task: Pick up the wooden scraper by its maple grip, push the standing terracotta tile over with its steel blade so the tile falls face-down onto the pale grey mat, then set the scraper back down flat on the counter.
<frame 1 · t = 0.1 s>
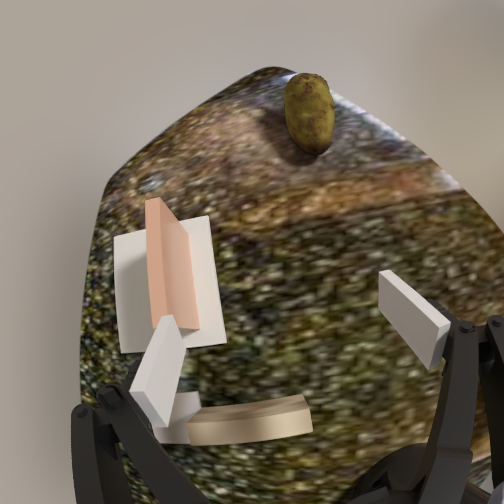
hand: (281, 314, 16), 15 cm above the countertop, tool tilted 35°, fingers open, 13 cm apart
scraper: (252, 412, 28), on the countertop
potato: (306, 128, 39), on the countertop
mat: (163, 286, 33), on the countertop
tile: (154, 258, 23), point 11 cm above the countertop, touching mat
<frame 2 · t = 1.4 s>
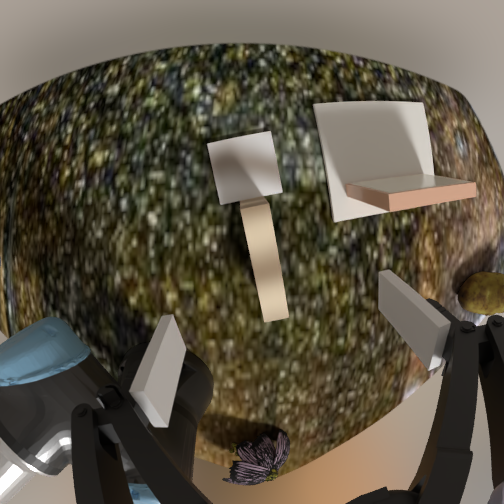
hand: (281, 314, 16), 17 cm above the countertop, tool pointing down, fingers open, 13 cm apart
scraper: (261, 247, 32), on the countertop
decorative flower: (255, 441, 45), on the countertop
potato: (475, 284, 36), on the countertop
mat: (382, 156, 29), on the countertop
tile: (439, 195, 20), point 11 cm above the countertop, touching mat
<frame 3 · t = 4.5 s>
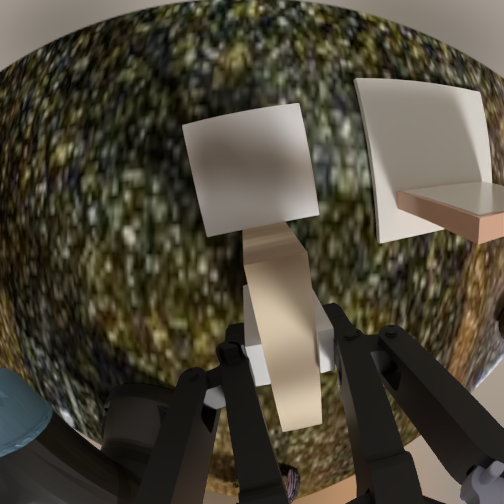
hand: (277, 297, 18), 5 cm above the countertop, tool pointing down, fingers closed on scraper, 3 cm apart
scraper: (278, 305, 19), point 4 cm above the countertop, touching gripper
decorative flower: (261, 475, 36), on the countertop
mat: (439, 155, 19), on the countertop
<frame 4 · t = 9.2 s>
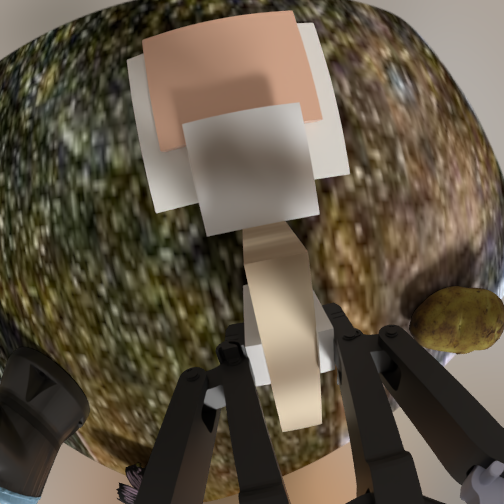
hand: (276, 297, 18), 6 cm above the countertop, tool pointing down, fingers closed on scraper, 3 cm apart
scraper: (278, 305, 19), point 5 cm above the countertop, touching gripper
decorative flower: (160, 465, 35), on the countertop
potato: (444, 303, 26), on the countertop
mat: (235, 106, 19), on the countertop
tile: (217, 23, 15), point 1 cm above the countertop, tilted 90°, touching mat
when the fingers open (0 cm above the countertop, at t = 15.1 s): scraper stays where it is, on the countertop.
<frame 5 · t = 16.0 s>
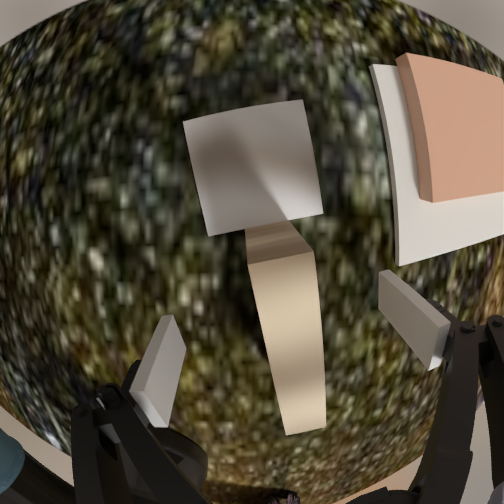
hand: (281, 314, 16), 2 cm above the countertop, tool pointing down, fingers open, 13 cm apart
scraper: (281, 306, 18), on the countertop
decorative flower: (259, 499, 32), on the countertop
mat: (464, 160, 15), on the countertop
tile: (458, 67, 12), point 1 cm above the countertop, tilted 90°, touching mat
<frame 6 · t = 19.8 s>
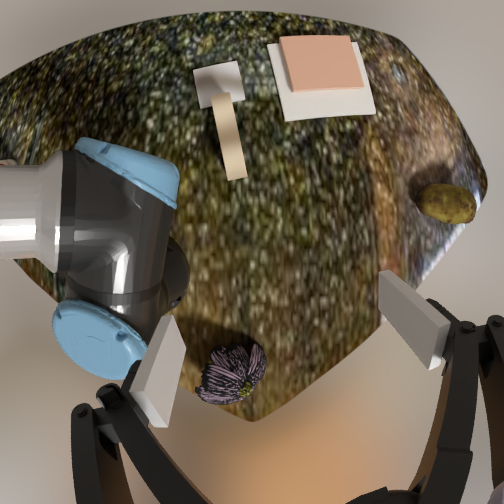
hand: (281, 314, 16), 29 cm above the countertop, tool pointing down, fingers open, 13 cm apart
aerosol can: (11, 174, 38), on the countertop
scraper: (230, 139, 39), on the countertop
decorative flower: (232, 359, 52), on the countertop
potato: (435, 199, 43), on the countertop
mat: (323, 77, 36), on the countertop
tile: (314, 37, 32), point 1 cm above the countertop, tilted 90°, touching mat
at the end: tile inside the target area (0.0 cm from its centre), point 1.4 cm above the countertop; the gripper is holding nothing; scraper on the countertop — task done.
